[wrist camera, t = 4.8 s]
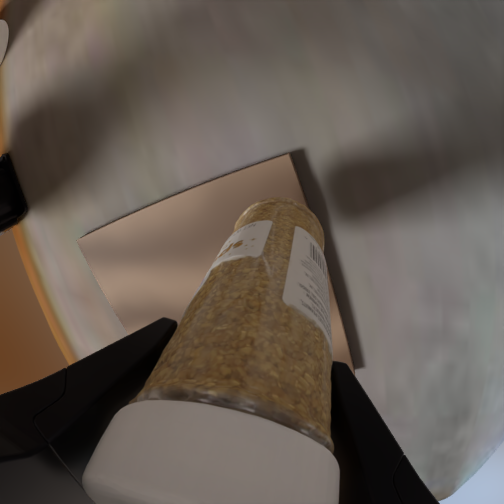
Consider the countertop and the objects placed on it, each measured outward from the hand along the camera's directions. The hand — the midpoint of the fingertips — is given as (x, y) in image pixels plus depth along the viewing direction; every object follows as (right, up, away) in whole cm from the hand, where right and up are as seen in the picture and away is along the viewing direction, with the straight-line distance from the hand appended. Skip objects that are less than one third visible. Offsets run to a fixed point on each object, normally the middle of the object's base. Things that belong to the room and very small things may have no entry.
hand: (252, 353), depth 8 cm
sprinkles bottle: (+1, +3, +7) cm, 8 cm away
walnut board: (-3, -2, +15) cm, 16 cm away
